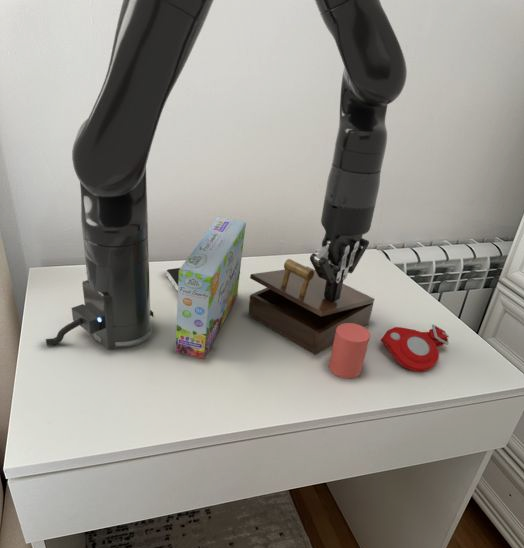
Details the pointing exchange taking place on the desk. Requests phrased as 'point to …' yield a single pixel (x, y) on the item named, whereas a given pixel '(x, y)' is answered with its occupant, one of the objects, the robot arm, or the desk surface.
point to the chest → (302, 320)
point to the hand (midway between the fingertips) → (331, 298)
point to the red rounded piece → (415, 346)
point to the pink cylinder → (349, 350)
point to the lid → (309, 289)
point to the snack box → (208, 286)
